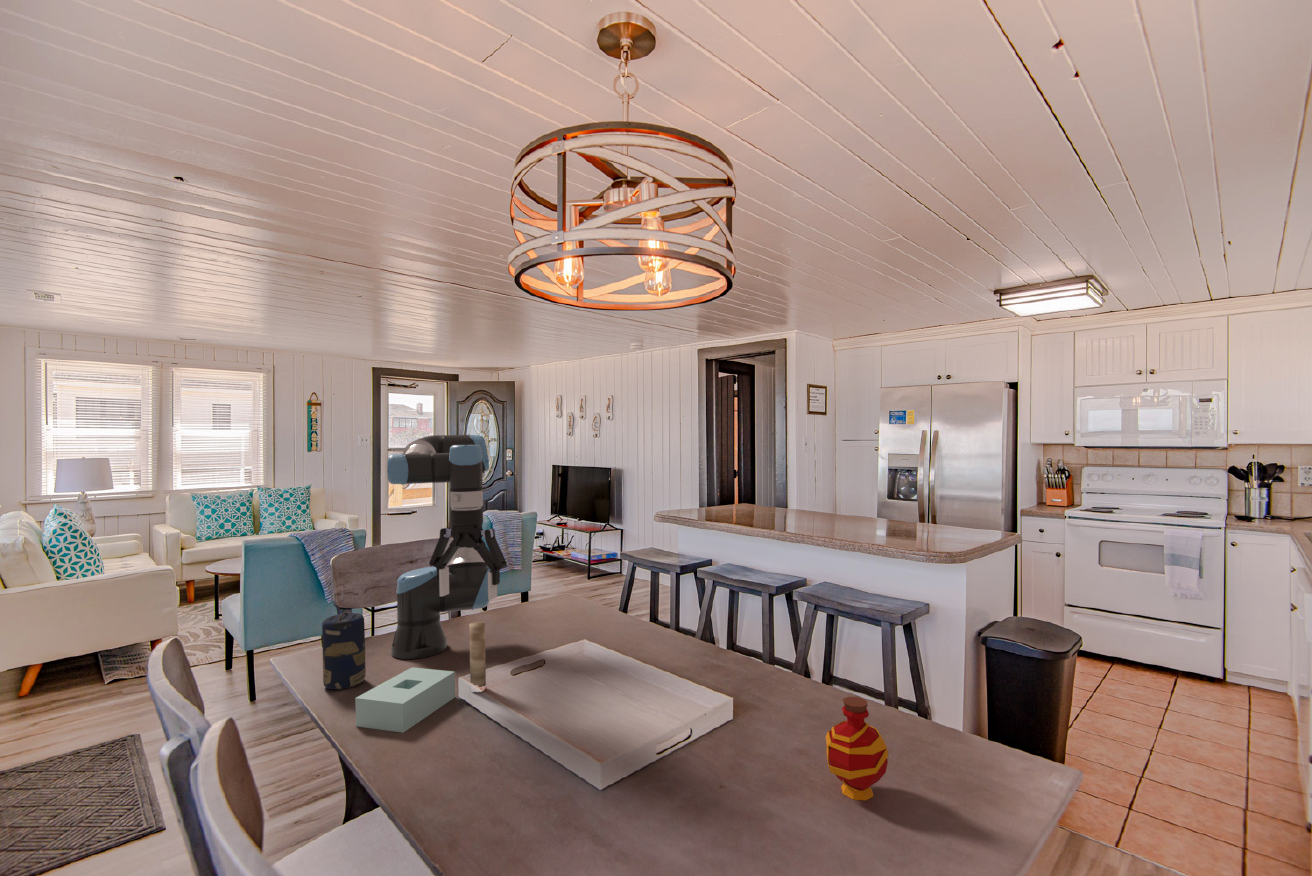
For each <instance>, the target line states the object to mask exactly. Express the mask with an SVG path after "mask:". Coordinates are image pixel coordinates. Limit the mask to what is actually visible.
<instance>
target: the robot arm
mask: <svg viewBox="0 0 1312 876" xmlns="http://www.w3.org/2000/svg"><path fill="white" fill-rule="evenodd" d="M489 469H490V461H489V453H488V447H487V443H486V440H485V438H484V437H483V436H482V435H480V434H442V435H441V434H440V435H439V434H438V435H437V434H436V435H435V434H434V435H428V436H424V437H421V438H418V439H415V440H413V441H411V442H409V443H408V444H407V445H406V446H405V447H404V449H403V452H402V453H397V454H390V455H389V456H388V457H387V464H386V473H387V480H388V483H389V484H392V485H401V486H403V485H413V484H414V485H415V484H441V483H449V484H450V485H449V486H450V488H449V491H450V492H449V493H450V494H449V495H450V496H449V499H450V502H449V503H450V506H449V507H450V508H451V510H450V514H449V515H450V516H449V517H450V525H451V528H450V527H449V526H448V527H444V528H443V527H442V528H441V529H440V530H439V538H438V541H437V542H436V545H435V548H434V550H433V553H432V555H431V558H430V560H429V563H428V564H429V566H427V567H426V566H425V567H422V568H416V569H413V570H409V571H406V572H404V573H403V574H401V575H400V576H399V577H398V578H397V581H396V582H397V583H396V591H395V593H396V599H397V600H396V602H397V603H396V604H397V606H396V609H397V610H396V611H397V612H396V616H397V618H396V619H397V620H396V621H397V627H396V630H395V633H394V635H393V640H392V643H391V646H390V656H392V657H393V658H396V659H401V660H415V659H422V658H423V659H424V658H428V657H431V656H435V655H438V654H440V653H442V652H443V651H445V650H446V649H447V648H448V639H447V636H446V635H445V631H444V628H443V625H442V623H441V613H448V612H459V611H469V610H471V611H473V610H478V609H483V608H486V607H487V606H488V605H489V604H490V601H492V600H494V599H496V598H498V585H499V584H500V582H501V580H500V579H501V574H500V573H501V572H500V571H501V570H503V569H505V568H507V566H508V563H507V560H506V558H505V556H504V554H503V552H502V549H501V547H500V545H499V543H498V539H497V538H496V533H495V528H487V529H483V523H484V509H482V507H483V505H484V493H483V479H484V478H485V475H486V474H485V472H487V471H489ZM450 538H451V542H450V543H449V540H450ZM483 538H484V539H485V541H484V539H483ZM448 543H449V545H448ZM447 546H448V548H447ZM446 548H447V549H446Z"/></svg>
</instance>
